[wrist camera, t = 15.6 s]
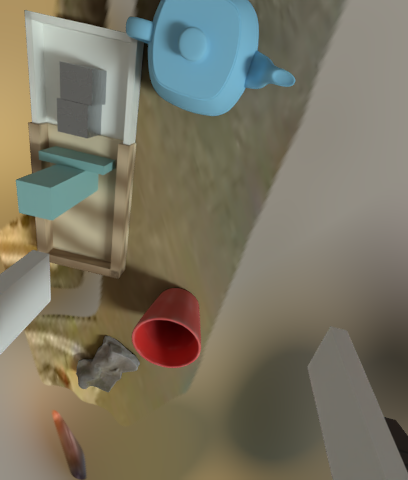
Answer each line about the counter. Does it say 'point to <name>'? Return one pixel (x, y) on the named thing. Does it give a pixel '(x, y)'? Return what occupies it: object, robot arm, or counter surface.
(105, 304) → the counter surface
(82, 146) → the slot board
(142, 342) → the flower pot
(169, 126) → the counter surface
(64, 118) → the block
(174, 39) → the teapot
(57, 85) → the tray
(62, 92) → the block
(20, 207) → the rake tool
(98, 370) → the stone
